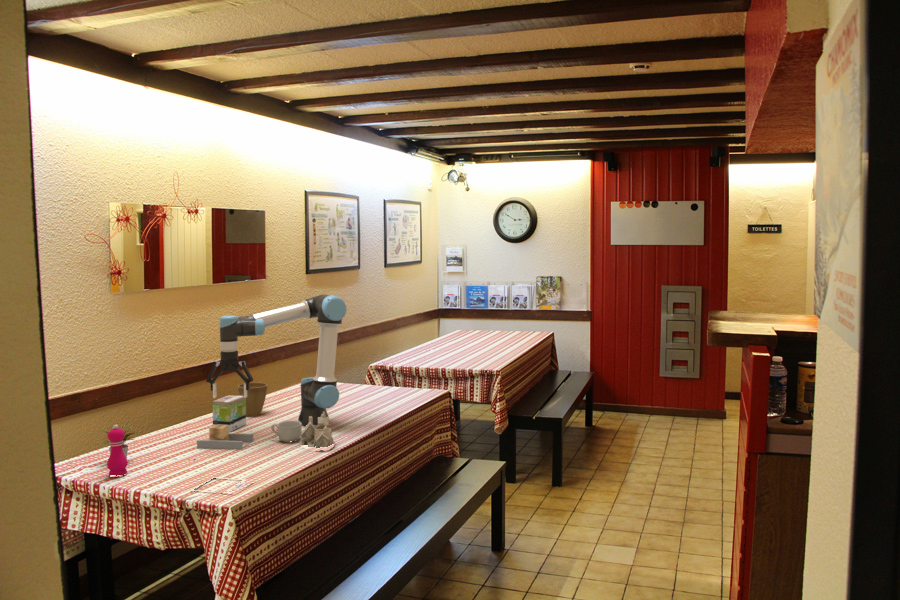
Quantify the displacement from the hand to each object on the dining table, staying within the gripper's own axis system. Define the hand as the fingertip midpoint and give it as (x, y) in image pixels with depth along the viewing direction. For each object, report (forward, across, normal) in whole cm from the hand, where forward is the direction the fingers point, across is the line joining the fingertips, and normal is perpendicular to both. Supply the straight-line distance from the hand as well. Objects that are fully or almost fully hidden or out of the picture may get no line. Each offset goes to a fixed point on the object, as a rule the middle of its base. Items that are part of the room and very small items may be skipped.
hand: (230, 397), depth 304 cm
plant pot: (+21, +3, -53) cm, 57 cm away
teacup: (+21, -24, -3) cm, 32 cm away
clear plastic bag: (+22, -13, +57) cm, 63 cm away
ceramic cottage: (+21, -39, +8) cm, 45 cm away
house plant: (+21, +39, +25) cm, 51 cm away
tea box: (+21, +8, -27) cm, 35 cm away
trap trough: (+21, +1, +6) cm, 22 cm away
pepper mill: (+21, +32, +42) cm, 57 cm away
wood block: (+20, +4, +6) cm, 21 cm away
